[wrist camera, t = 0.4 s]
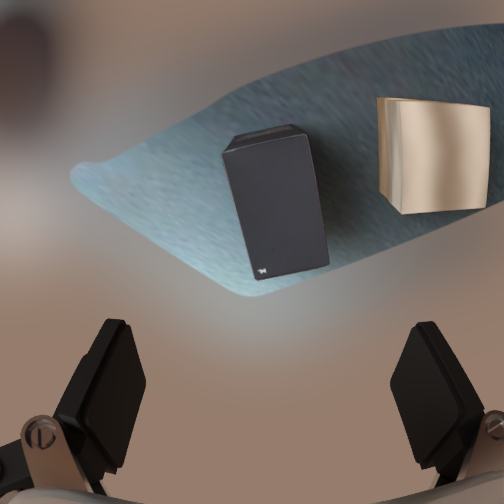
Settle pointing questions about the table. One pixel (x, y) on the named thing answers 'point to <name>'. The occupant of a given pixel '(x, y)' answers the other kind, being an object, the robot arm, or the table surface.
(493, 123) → the table surface
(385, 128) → the oak slab
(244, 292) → the table surface
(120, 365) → the robot arm
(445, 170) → the ash slab
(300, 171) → the small box
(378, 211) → the table surface
